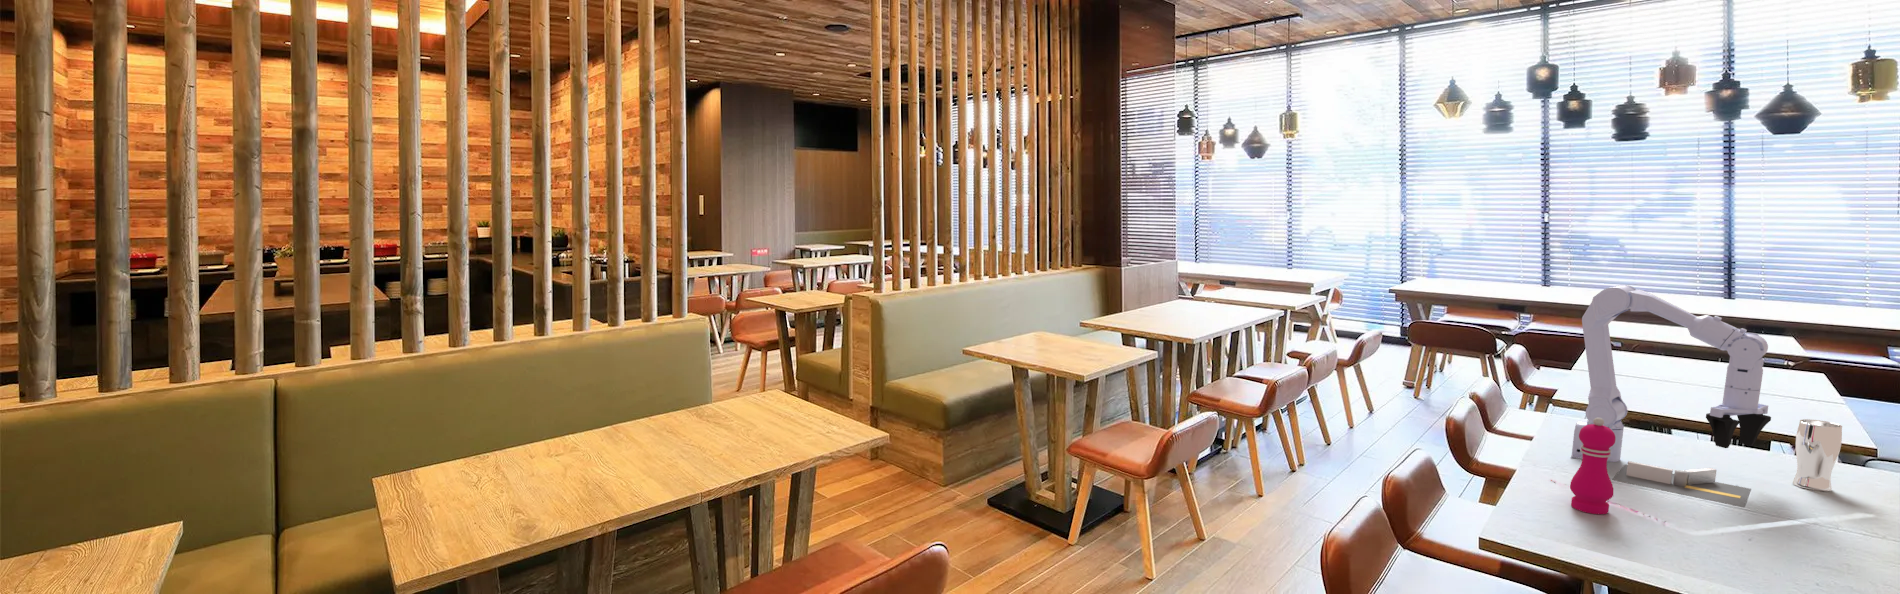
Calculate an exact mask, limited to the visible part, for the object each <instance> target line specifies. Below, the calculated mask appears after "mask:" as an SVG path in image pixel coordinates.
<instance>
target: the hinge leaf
mask: <svg viewBox="0 0 1900 594" xmlns="http://www.w3.org/2000/svg"><path fill="white" fill-rule="evenodd" d="M1683 471H1686V472H1688V476H1687V485H1692V484H1703V483H1713V482H1716V478H1717V477H1716V476H1717V469H1715V468H1713V467H1712V468H1711V467H1706V468H1694V469H1685V470H1683Z"/></svg>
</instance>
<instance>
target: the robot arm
mask: <svg viewBox="0 0 1900 594" xmlns="http://www.w3.org/2000/svg"><path fill="white" fill-rule="evenodd" d="M1627 311H1630V312H1648V313H1651V314H1653V315H1656V316H1658V317H1661V318H1664V319H1665V320H1668V321H1669V322H1672V323H1674V324H1677V325H1679V326H1682V327H1685V328H1687V330H1688V333H1689V335H1690V336H1691V337H1692V338H1694V339H1697V340H1699V341H1701V342H1703V343H1705V344H1707V345H1710V346H1712V347H1714V348H1716V349H1718V350H1720V351H1727V354H1728V355H1729V361H1728V365H1727V368H1726V374H1725V375H1726V376H1725V383H1724V384H1725V385H1724V389H1723V397H1722V403H1720V404H1717V405H1715V406H1711V407H1710V410H1709V413H1706V415H1705V419H1706V421H1707V422H1708V423H1709V425H1710V428H1711V431H1712V434H1713V439H1714V444H1715V446H1716V447H1718V448H1723V449H1729V448H1730V446H1731V442H1732V439H1733V435H1734V432H1735V430H1736V428H1737V427H1738V426H1739V441H1740V444H1742V445H1745V446H1750V447H1753V446H1754V444H1755V443H1756V441H1757V439H1758V437H1759V435H1760V434H1761V432H1762V430H1763V429H1764V428H1765V426H1766V425H1767V424H1769V422H1771V421H1772V417H1771V416H1770V415H1767V414H1768V410H1769V405H1767V404H1763V403H1760V401H1759V400H1760V395H1761V388H1762V380H1763V375H1764V369H1763V367H1764V362H1765V361H1764V356H1765V355H1766V354H1767V353H1768V349H1769V345H1768V344H1769V343H1768V342H1767V340H1766V339H1765V338H1764V337H1762V336H1761V335H1759V334H1758V333H1756V332H1747V330H1748V329H1746V328H1743V327H1742V328H1737V327H1735V326H1733V325H1731V324H1729V323H1727V322H1724V321H1722V319H1723V318H1722V317H1721V316H1718V315H1715V316H1711V315H1709V314H1705V315H1701V316H1697V315H1695V314H1693V313H1692V312H1689V311H1687V310H1684V309H1682V308H1681V307H1678V306H1677V305H1674V304H1673V303H1670V302H1669V301H1666V299H1665V300H1664V299H1663V298H1661V297H1658V296H1656V295H1654V294H1651V293H1650V292H1647V291H1645V290H1642V289H1638V288H1637V289H1636V288H1635V287H1633V286H1631V285H1628V284H1620V285H1615V286H1611V287H1610V286H1609V287H1606V288H1604V289H1603V290H1601V291H1600V292H1598V293H1597V294H1595V295H1594V296H1593V297H1592V301H1591V302H1590V304H1589V306H1588V307H1587V308H1586V311H1585V312H1584V314H1583V315H1582V317H1581V324H1582V333H1583V339H1584V347H1585V353H1586V354H1585V355H1586V364H1587V368H1588V369H1587V370H1588V376H1589V384H1590V390H1589V392H1588V396H1587V397H1588V398H1587V399H1588V400H1587V401H1588V404H1587V407H1586V409H1585V417H1586V419H1587V420H1586V421H1577V422H1576V424H1575V427H1574V431H1573V440H1572V449H1571V456H1570V457H1571V458H1573V459H1583V453H1582V452H1581V451H1580V450H1581V445H1583V443H1582V442H1581V440H1580V439H1579V433H1580V430H1581V429H1582V428H1583V427H1584V426H1586V425H1589V424H1594V423H1593V420H1594V419H1595V418H1602V419H1603V420H1604V424H1603V426H1606V427H1608V428H1610V429H1611V430H1612V431H1613V432H1614V434H1615V439H1616V440H1615V443H1614V445H1613V446H1611V447H1610V448H1609V449H1610V450H1611V452H1610V454H1611V456H1610V457H1608V459H1607V462H1612V463H1613V462H1614V463H1615V462H1620V461H1621V457H1622V456H1621V455H1622V447H1623V446H1622V445H1623V436H1624V427H1625V426H1624V424H1623V422H1622V420H1624V418H1625V417H1626V416H1627V414H1628V407H1627V405H1626V403H1625V402H1624V401H1623V399H1622V395H1621V391H1620V390H1619V388H1618V386H1617V379H1616V374H1615V365H1614V359H1613V351H1612V343H1611V336H1610V328H1609V324H1610V323H1612V322H1613V321H1614V320H1615V319H1617V317H1618V316H1619V315H1621V314H1622V313H1625V312H1627ZM1732 416H1737V419H1733V417H1732Z"/></svg>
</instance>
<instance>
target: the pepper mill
mask: <svg viewBox="0 0 1900 594" xmlns="http://www.w3.org/2000/svg"><path fill="white" fill-rule="evenodd" d="M1593 423H1594V424H1589V425H1586V426H1584V427H1583V428H1582V429H1581V430H1580V433H1579V439H1580V440H1581V442H1582V443H1583V445H1581V450H1580V451H1581V452H1582V453H1583V458H1581V464H1580V466H1579V468H1578V469H1577V471H1576V472H1575V474H1574V475H1573V476H1572V479H1571V481H1570V484H1569V488H1570V491H1571V493H1572V494H1573V495H1574V496H1572V497H1571V501H1570V504H1571V507H1572V508H1573V509H1574V510H1576V511H1580V512H1582V513H1583V512H1584V513H1586V514H1590V515H1591V514H1593V515H1607V514H1609V508H1610V504H1609V503H1608V502H1609V500H1611V499H1612V498H1613V497H1614V486H1613V482H1612V479H1610V475H1609V472H1608V469H1607V468H1608V466H1607V465H1608V461H1607V459H1608V457H1610V456H1611V454H1610V452H1611V450H1610V449H1609V448H1610V447H1611V446H1613V445H1614V443H1615V440H1616V439H1615V434H1614V432H1613V431H1612V430H1611V429H1610V428H1608V427H1606V426H1603V424H1604V420H1603V419H1602V418H1595V419H1594V420H1593Z"/></svg>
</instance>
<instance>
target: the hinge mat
mask: <svg viewBox="0 0 1900 594" xmlns="http://www.w3.org/2000/svg"><path fill="white" fill-rule="evenodd" d="M1673 472H1674V473H1673ZM1687 476H1688V472H1686V471H1684V470H1680V469H1676V470H1674V469H1672V468H1669V467H1668V468H1667V467H1661V466H1656V465H1653V464H1652V465H1651V464H1646V463H1641V462H1636V461H1629V460H1628V461H1627V464H1624V465H1623V466H1622V467H1621V468H1620V470H1619V471H1618V472H1617V473H1616V474H1615V475H1614V476H1613V477H1612V479H1611V481H1615V482H1618V483H1619V482H1621V483H1625V484H1628V485H1634V486H1638V487H1644V488H1649V489H1652V490H1653V489H1654V490H1657V491H1658V490H1659V491H1663V492H1668V493H1673V494H1677V495H1683V496H1686V497H1691V498H1692V497H1693V498H1698V499H1702V500H1707V501H1712V502H1717V503H1722V504H1728V505H1730V506H1731V505H1732V506H1736V507H1741V508H1745V507H1746V505H1747V501H1748V499H1749V497H1750V493H1751V491H1752V488H1749V487H1745V486H1739V485H1733V484H1729V483H1724V482H1723V483H1722V482H1719V481H1718V482H1717V481H1715V482H1713V483H1703V484H1692V485H1687Z"/></svg>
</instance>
